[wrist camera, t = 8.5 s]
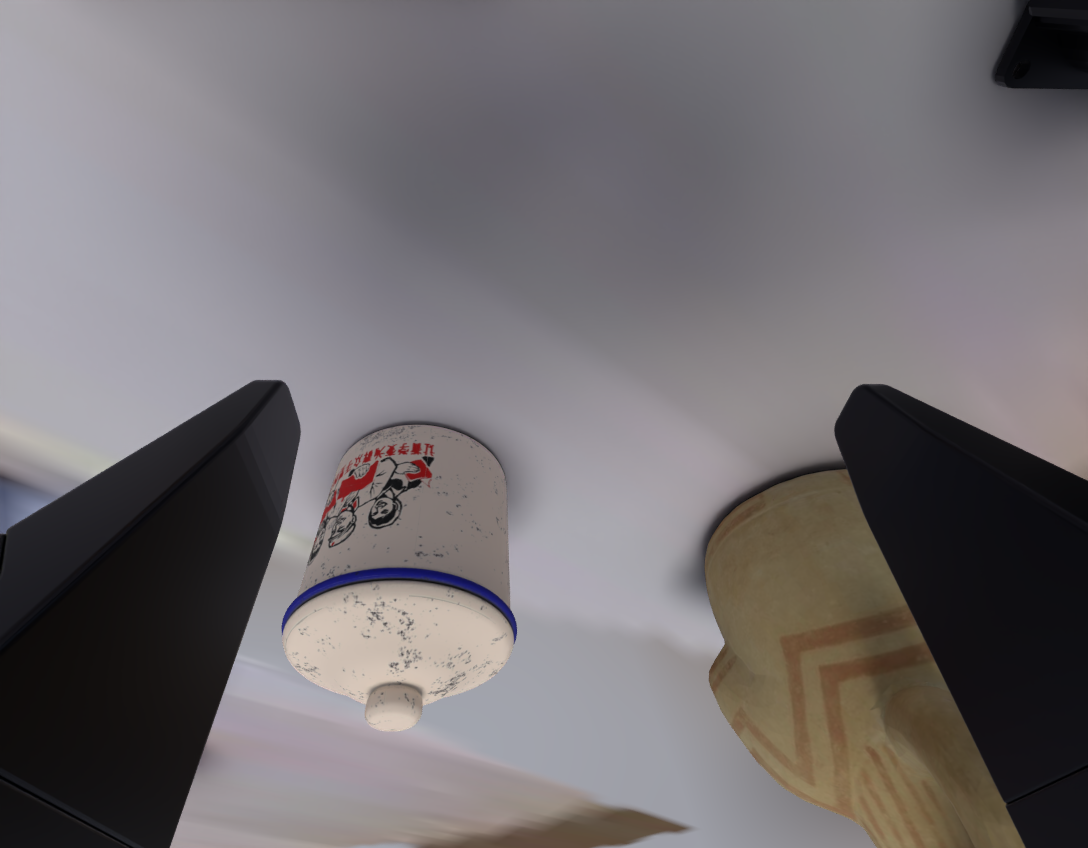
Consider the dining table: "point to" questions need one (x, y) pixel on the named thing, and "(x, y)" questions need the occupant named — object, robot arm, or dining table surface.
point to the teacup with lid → (406, 576)
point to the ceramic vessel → (841, 673)
